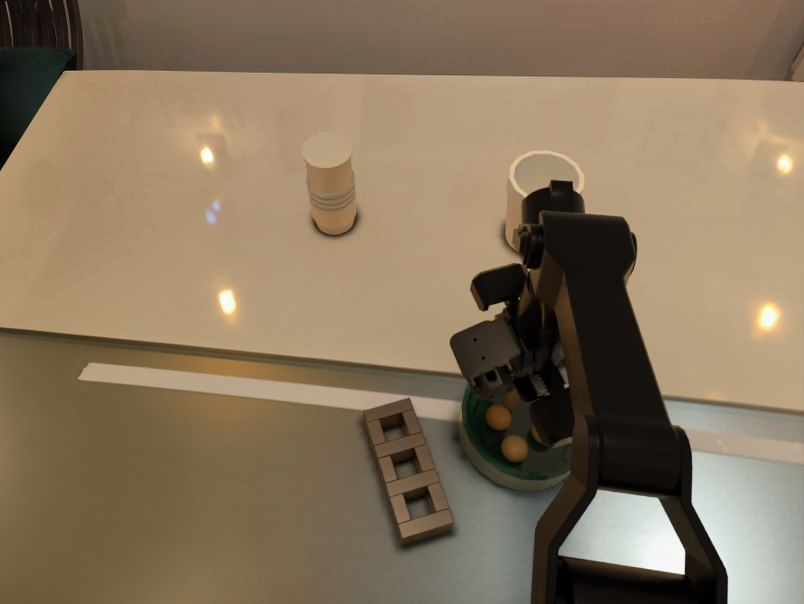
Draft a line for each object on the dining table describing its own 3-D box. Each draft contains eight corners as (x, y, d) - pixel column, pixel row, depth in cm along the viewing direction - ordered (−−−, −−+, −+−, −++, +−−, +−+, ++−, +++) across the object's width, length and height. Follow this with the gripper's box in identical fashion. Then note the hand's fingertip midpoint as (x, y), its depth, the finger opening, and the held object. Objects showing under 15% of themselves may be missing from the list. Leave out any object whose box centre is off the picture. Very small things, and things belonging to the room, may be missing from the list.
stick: (520, 406, 72) (539, 368, 63) (506, 411, 72) (523, 372, 63) (514, 393, 73) (531, 352, 64) (500, 397, 73) (515, 357, 64)
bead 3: (559, 443, 71) (566, 435, 68) (536, 451, 71) (541, 442, 68) (548, 419, 73) (553, 410, 70) (524, 426, 72) (529, 417, 70)
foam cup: (538, 274, 85) (560, 216, 74) (482, 241, 89) (495, 182, 78) (572, 231, 89) (597, 170, 78) (516, 202, 93) (533, 140, 82)
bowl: (602, 471, 69) (615, 458, 65) (485, 507, 68) (492, 497, 64) (545, 362, 77) (554, 344, 73) (440, 392, 76) (443, 376, 72)
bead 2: (529, 461, 70) (535, 453, 67) (505, 468, 70) (509, 461, 67) (518, 436, 72) (523, 428, 69) (494, 443, 71) (498, 435, 69)
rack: (451, 530, 67) (454, 522, 64) (401, 545, 66) (402, 538, 63) (408, 409, 75) (409, 397, 72) (363, 422, 74) (362, 410, 71)
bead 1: (513, 430, 72) (518, 420, 70) (489, 437, 72) (493, 427, 69) (502, 407, 74) (507, 397, 72) (479, 413, 74) (483, 403, 71)
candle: (363, 207, 94) (359, 136, 82) (348, 241, 90) (342, 173, 78) (322, 197, 96) (312, 126, 83) (306, 231, 92) (293, 162, 80)
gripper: (428, 253, 59) (421, 329, 72) (509, 436, 48) (484, 486, 61) (535, 225, 60) (509, 304, 73) (637, 398, 49) (586, 455, 62)
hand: (519, 381), depth 67 cm, fingers closed on stick, 2 cm apart
